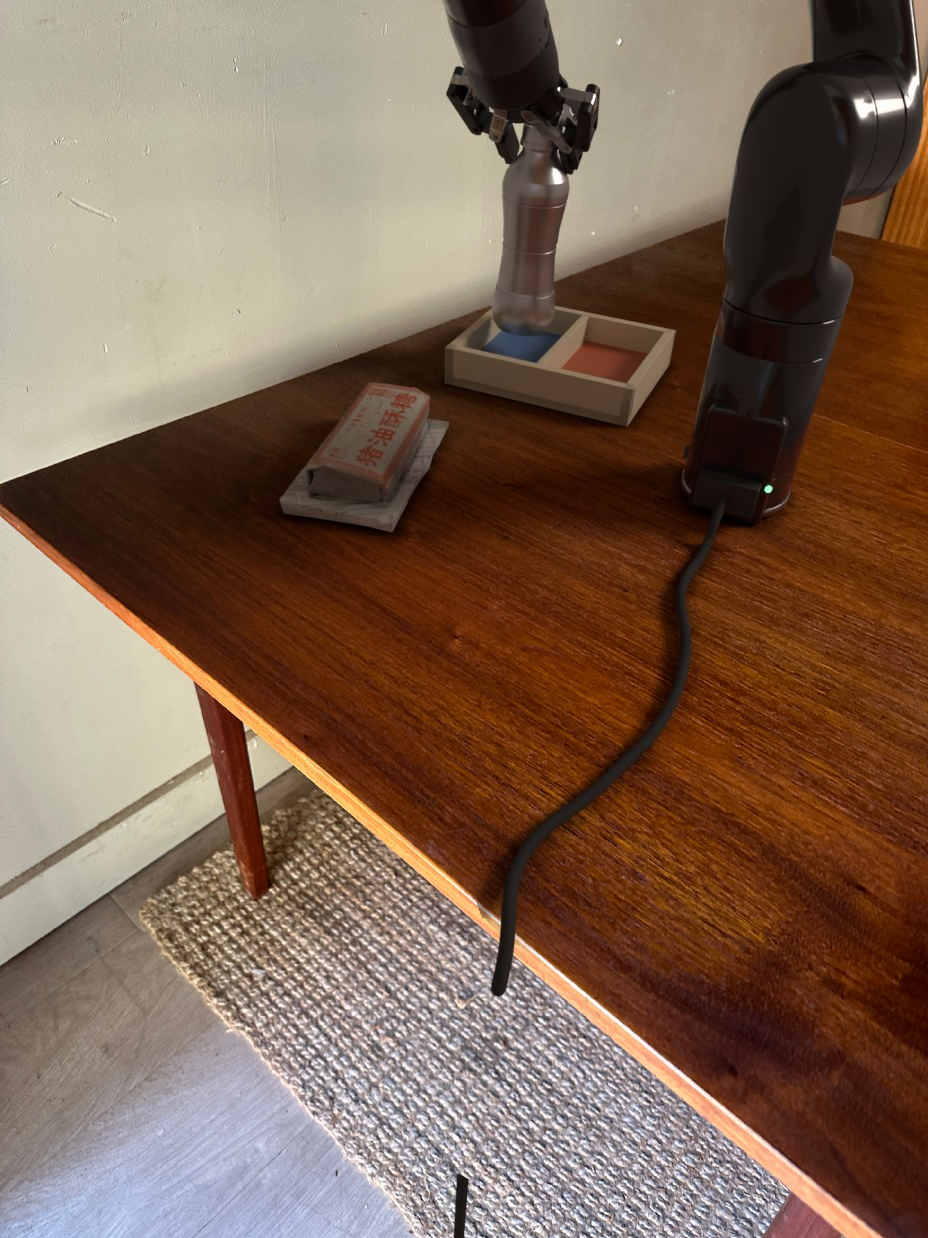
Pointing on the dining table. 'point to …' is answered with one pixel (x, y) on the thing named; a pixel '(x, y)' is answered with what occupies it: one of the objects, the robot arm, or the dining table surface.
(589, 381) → the sorting tray
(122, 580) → the dining table surface
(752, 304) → the robot arm
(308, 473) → the packaged product
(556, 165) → the plastic bottle
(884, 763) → the dining table surface
